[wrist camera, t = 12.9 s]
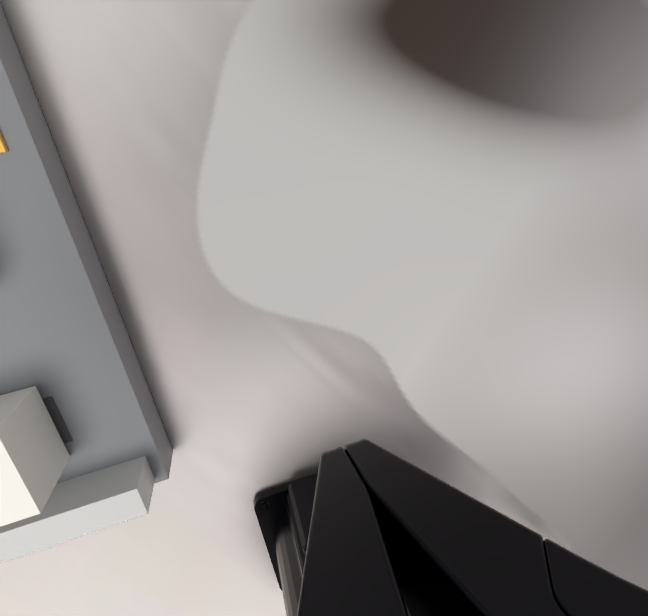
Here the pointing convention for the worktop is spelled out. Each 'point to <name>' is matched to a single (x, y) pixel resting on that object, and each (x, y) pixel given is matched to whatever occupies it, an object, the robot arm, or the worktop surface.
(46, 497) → the block
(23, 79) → the breaker panel
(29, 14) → the worktop surface
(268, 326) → the worktop surface
